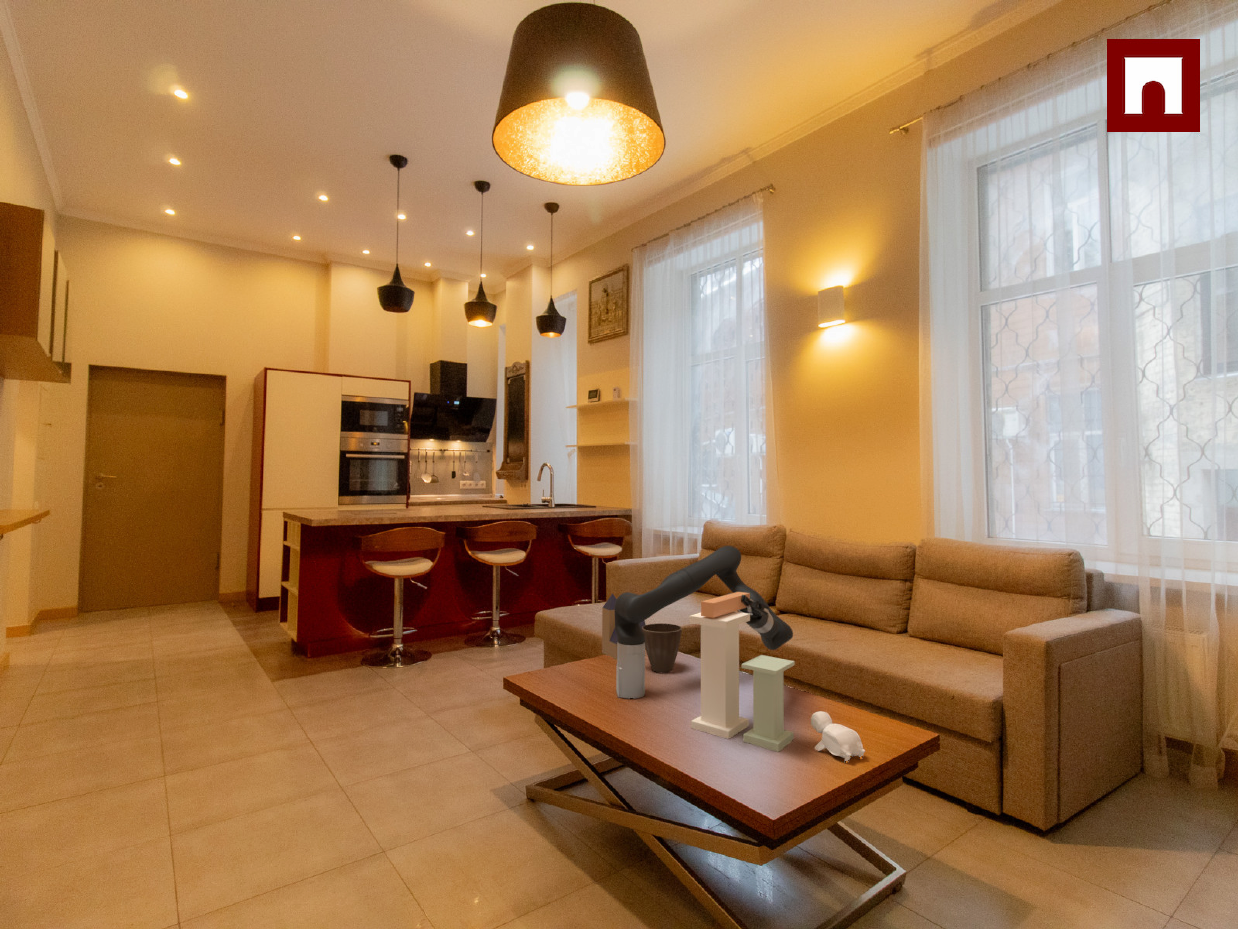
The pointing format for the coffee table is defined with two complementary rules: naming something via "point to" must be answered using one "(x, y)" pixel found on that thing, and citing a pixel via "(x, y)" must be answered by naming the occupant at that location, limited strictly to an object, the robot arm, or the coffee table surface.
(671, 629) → the plant pot
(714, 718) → the tall stand
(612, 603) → the toy building blocks
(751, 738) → the short stand
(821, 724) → the white turtle figurine
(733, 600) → the beam
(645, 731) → the coffee table surface
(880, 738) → the coffee table surface
